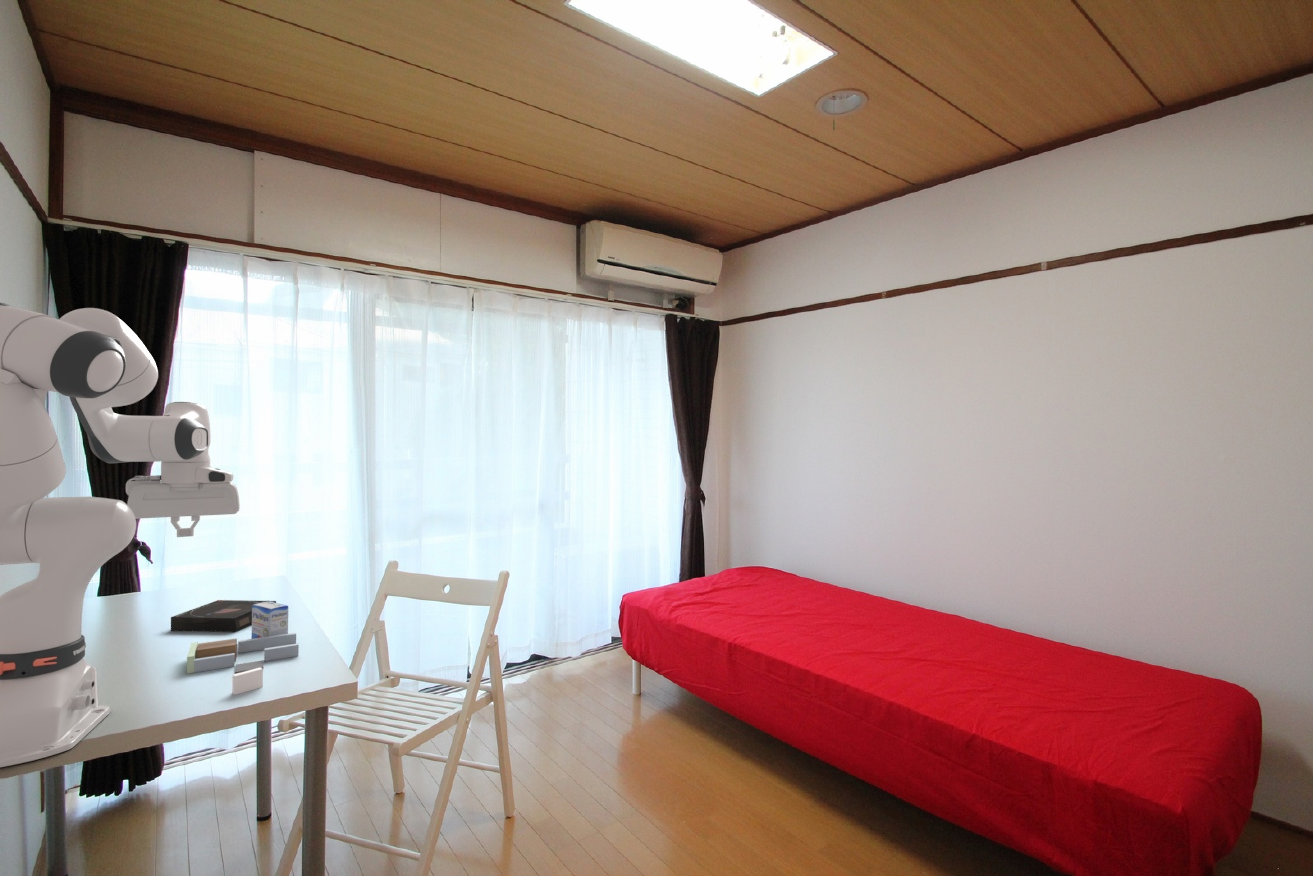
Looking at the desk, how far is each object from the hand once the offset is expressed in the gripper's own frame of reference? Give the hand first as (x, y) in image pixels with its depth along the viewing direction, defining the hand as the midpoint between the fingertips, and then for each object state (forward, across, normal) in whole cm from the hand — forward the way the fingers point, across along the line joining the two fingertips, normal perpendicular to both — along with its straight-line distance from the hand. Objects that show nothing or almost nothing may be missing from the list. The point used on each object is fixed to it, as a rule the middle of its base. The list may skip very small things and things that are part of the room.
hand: (185, 536), depth 139 cm
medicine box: (+27, +16, +4) cm, 32 cm away
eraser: (+28, +13, -28) cm, 42 cm away
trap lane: (+27, +12, -7) cm, 31 cm away
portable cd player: (+27, +7, +27) cm, 39 cm away
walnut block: (+27, +6, -7) cm, 29 cm away
